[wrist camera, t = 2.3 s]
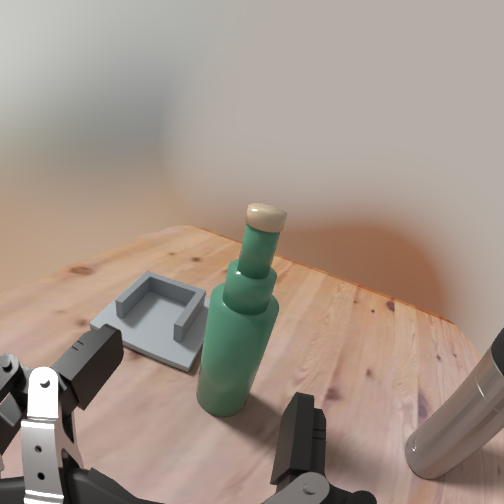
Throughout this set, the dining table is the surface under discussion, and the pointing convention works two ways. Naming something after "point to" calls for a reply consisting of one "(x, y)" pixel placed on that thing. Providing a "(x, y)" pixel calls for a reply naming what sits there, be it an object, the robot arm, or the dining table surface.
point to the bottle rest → (159, 319)
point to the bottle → (241, 316)
